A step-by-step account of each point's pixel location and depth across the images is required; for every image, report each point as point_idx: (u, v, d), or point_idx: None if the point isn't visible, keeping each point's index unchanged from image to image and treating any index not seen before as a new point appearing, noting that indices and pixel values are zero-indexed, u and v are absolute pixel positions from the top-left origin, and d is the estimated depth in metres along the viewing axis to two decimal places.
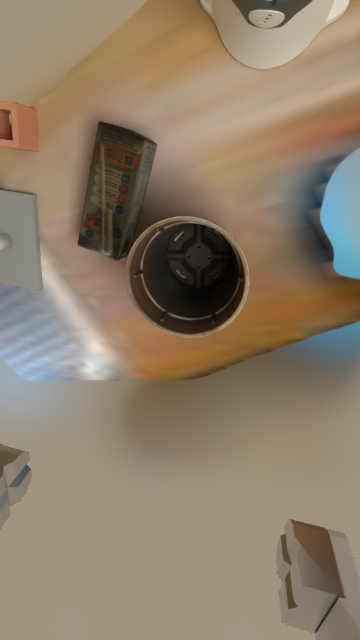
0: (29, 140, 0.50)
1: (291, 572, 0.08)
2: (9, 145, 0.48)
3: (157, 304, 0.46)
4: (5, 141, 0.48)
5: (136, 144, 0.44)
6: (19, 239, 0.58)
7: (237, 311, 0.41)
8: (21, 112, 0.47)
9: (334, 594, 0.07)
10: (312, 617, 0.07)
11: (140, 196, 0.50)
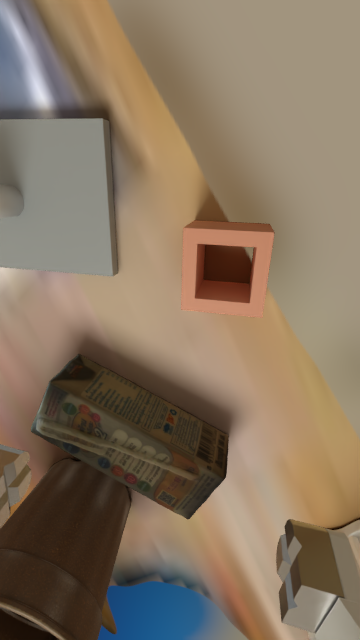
0: None
1: (291, 572, 0.08)
2: (185, 288, 0.23)
3: None
4: (191, 280, 0.22)
5: (184, 511, 0.31)
6: (23, 233, 0.28)
7: None
8: None
9: (334, 594, 0.07)
10: (312, 617, 0.07)
11: None
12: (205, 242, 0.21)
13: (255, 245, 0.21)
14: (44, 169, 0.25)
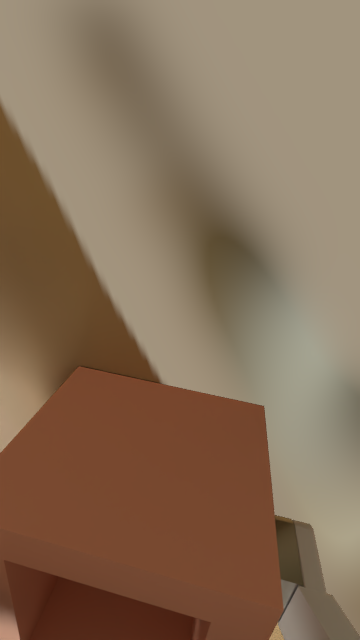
0: None
1: None
2: None
3: None
4: (7, 623, 0.07)
5: None
6: None
7: None
8: None
9: (294, 583, 0.07)
10: None
11: None
12: (29, 565, 0.06)
13: (206, 616, 0.05)
14: None
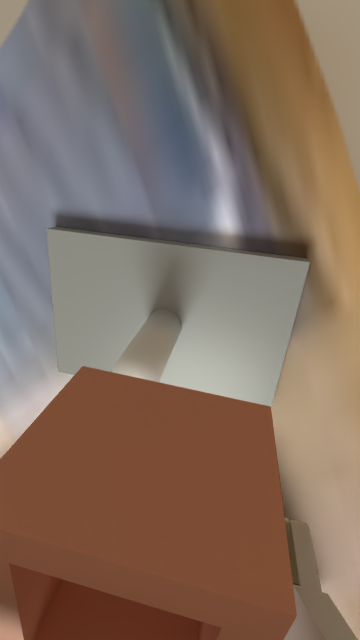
0: None
1: None
2: None
3: None
4: (11, 627, 0.07)
5: None
6: (171, 358, 0.24)
7: None
8: None
9: None
10: None
11: None
12: (35, 568, 0.06)
13: (216, 621, 0.05)
14: (218, 301, 0.22)
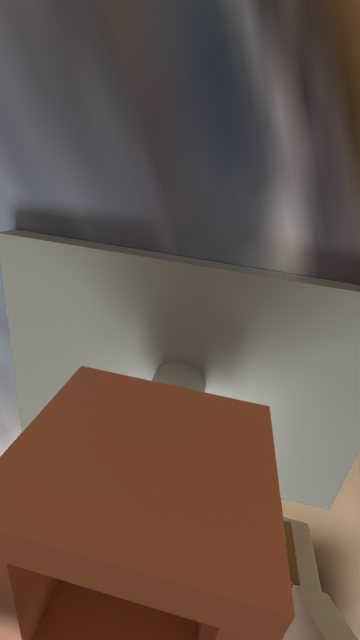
0: None
1: None
2: None
3: None
4: (9, 627, 0.07)
5: None
6: None
7: None
8: None
9: None
10: None
11: None
12: (33, 569, 0.06)
13: (214, 622, 0.05)
14: (266, 355, 0.14)
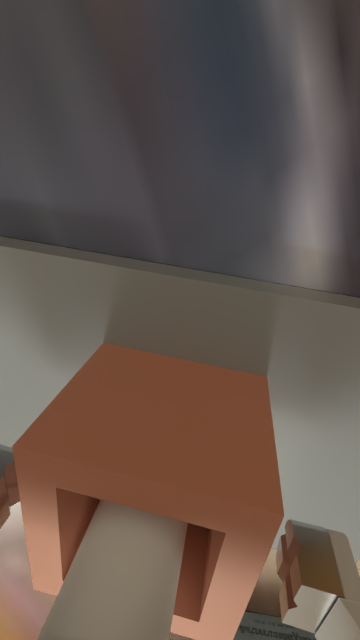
0: None
1: (291, 572, 0.08)
2: (36, 559, 0.09)
3: None
4: (51, 551, 0.08)
5: None
6: None
7: None
8: None
9: (334, 594, 0.07)
10: (312, 617, 0.07)
11: None
12: (78, 490, 0.07)
13: (222, 528, 0.07)
14: (280, 391, 0.11)
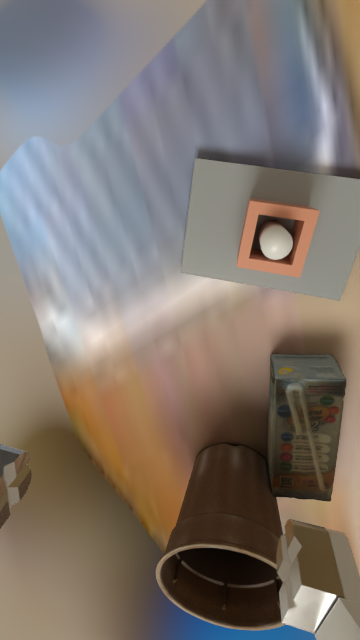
0: None
1: (291, 572, 0.08)
2: (242, 249, 0.29)
3: None
4: (249, 243, 0.29)
5: (281, 493, 0.41)
6: None
7: (192, 614, 0.38)
8: None
9: (334, 594, 0.07)
10: (312, 617, 0.07)
11: (269, 431, 0.41)
12: (265, 213, 0.27)
13: (303, 219, 0.27)
14: None
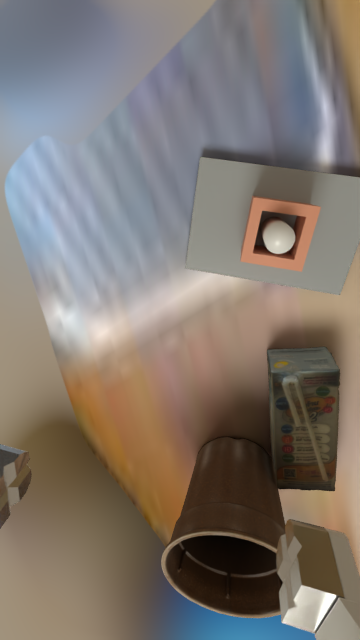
0: None
1: (291, 572, 0.08)
2: (246, 244, 0.30)
3: None
4: (252, 239, 0.30)
5: (285, 485, 0.42)
6: None
7: (196, 602, 0.39)
8: None
9: (334, 594, 0.07)
10: (312, 617, 0.07)
11: None
12: (268, 210, 0.28)
13: (305, 215, 0.28)
14: None
